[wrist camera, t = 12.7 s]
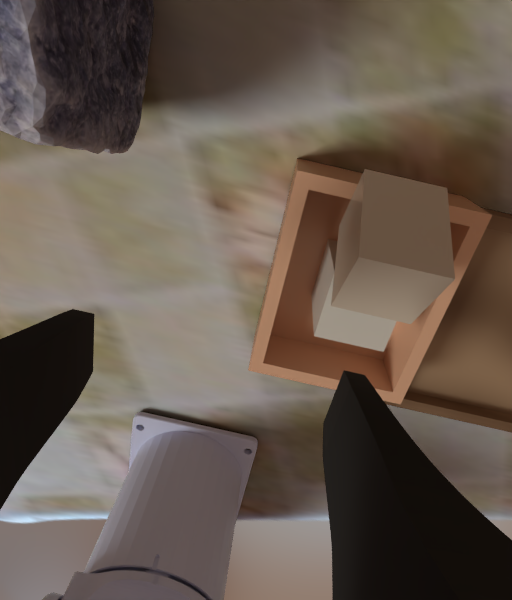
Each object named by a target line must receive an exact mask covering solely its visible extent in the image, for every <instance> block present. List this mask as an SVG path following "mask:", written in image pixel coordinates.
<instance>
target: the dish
mask: <svg viewBox="0 0 512 600" xmlns="http://www.w3.org/2000/svg"><path fill="white" fill-rule="evenodd" d="M362 174H363V173H360V172H355V171H351V170H347V169H342V168H338V167H334V166H329V165H325V164H321V163H316V162H312V161H308V160H303V159H299V158H297V162H296V166H295V170H294V174H293V179H292V183H291V187H290V191H289V195H288V199H287V203H286V208H285V212H284V216H283V220H282V224H281V228H280V232H279V237H278V241H277V245H276V249H275V253H274V257H273V262H272V266H271V270H270V274H269V278H268V282H267V286H266V291H265V295H264V299H263V303H262V307H261V311H260V315H259V320H258V324H257V328H256V332H255V336H254V342H253V347H252V353H251V358H250V364H249V369H248V370H249V371H254V372H258V373H263V374H267V375H271V376H276V377H280V378H285V379H289V380H294V381H298V382H303V383H307V384H311V385H316V386H320V387H325V388H329V389H334V390H336V389H337V386H338V384H339V381H340V379H341V376H342V373H343V371H344V370H345V371H350V372H354V373H359V374H363V375H365V376H366V377H367V378H368V380H369V381H370V383H371V384H372V385H373V387H374V388H375V390H376V391H377V393H378V394H379V395H380V397H381V398H382V400H383V401H387V402H392V403H396V404H400V405H401V403H402V401H403V398H404V396H405V394H406V392H407V390H408V388H409V386H410V384H411V382H412V380H413V378H414V376H415V374H416V372H417V370H418V368H419V366H420V363H421V361H422V359H423V357H424V355H425V353H426V351H427V349H428V347H429V345H430V343H431V341H432V339H433V337H434V335H435V333H436V330H437V328H438V326H439V324H440V322H441V320H442V318H443V316H444V314H445V312H446V310H447V308H448V306H449V304H450V302H451V300H452V298H453V295H454V293H455V291H456V289H457V287H458V285H459V283H460V281H461V279H462V277H463V275H464V273H465V271H466V269H467V267H468V265H469V263H470V260H471V258H472V256H473V254H474V252H475V250H476V248H477V246H478V244H479V242H480V240H481V238H482V236H483V234H484V232H485V230H486V228H487V225H488V223H489V221H490V219H491V217H492V215H491V214H490V213H488V212H487V211H485V210H484V209H482V208H480V207H479V206H477V205H476V204H474V203H473V202H471V201H469V200H468V199H466V198H465V197H463V196H460V195H455V194H451V193H448V203H449V215H450V227H451V238H452V250H453V261H454V273H455V280H454V281H453V282H452V283H451V284H450V285H449V286H448V287H447V288H446V289H445V290H444V291H443V292H442V293H441V294H440V295H439V296H438V297H437V298H436V299H435V300H434V301H433V302H432V303H431V304H430V305H429V306H428V307H427V308H426V309H425V310H424V311H423V312H422V313H421V314H420V315H419V316H418V317H417V318H416V319H415V320H414V321H413V322H412V323H411V324H407V323H403V322H399V321H397V322H396V324H395V326H394V329H393V331H392V333H391V336H390V338H389V340H388V343H387V345H386V348H385V350H384V352H382V351H377V350H373V349H369V348H364V347H360V346H355V345H351V344H346V343H342V342H337V341H333V340H328V339H324V338H320V337H315V336H314V329H313V312H312V296H311V294H312V291H313V287H314V284H315V281H316V277H317V274H318V271H319V267H320V264H321V261H322V257H323V254H324V251H325V247H326V244H327V241H328V239H330V240H335V241H338V234H339V225H340V223H341V220H342V218H343V216H344V214H345V212H346V209H347V207H348V205H349V203H350V200H351V198H352V196H353V194H354V192H355V189H356V187H357V185H358V183H359V181H360V178H361V176H362Z"/></svg>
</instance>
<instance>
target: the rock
mask: <svg viewBox="0 0 512 600" xmlns="http://www.w3.org/2000/svg"><path fill="white" fill-rule="evenodd" d="M153 18H154V7H153V0H0V130H1V131H3V132H6V133H8V134H10V135H13V136H15V137H18V138H20V139H23V140H26V141H28V142H31V143H34V144H40V145H49V146H62V147H66V148H71V149H81V150H88V151H90V152H93V153H97V154H99V153H100V152H102V151H106V152H108V153H111V154H113V153H124V152H126V151H128V149H129V148H130V146H131V145H132V143H133V141H134V138H135V135H136V133H137V130H138V128H139V125H140V119H141V111H142V101H143V96H144V93H145V81H146V77H147V73H148V54H149V51H150V42H151V37H152V31H153Z"/></svg>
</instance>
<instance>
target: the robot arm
mask: <svg viewBox="0 0 512 600" xmlns="http://www.w3.org/2000/svg"><path fill="white" fill-rule="evenodd" d="M93 345H94V314H92V313H88V312H83V311H79V310H74V309H72V310H69V311H67V312H64V313H61V314H59V315H57V316H54V317H52V318H49V319H47V320H45V321H42V322H40V323H38V324H36V325H33V326H31V327H28V328H26V329H24V330H21V331H19V332H17V333H14V334H12V335H10V336H7V337H5V338H2V339H0V509H1V508H2V506H3V504H4V503H5V501H6V499H7V498H8V496H9V494H10V493H11V491H12V490H13V488H14V486H15V485H16V483H17V481H18V480H19V479H20V477H21V476H22V474H23V473H24V471H25V470H26V468H27V467H28V466H29V464H30V463H31V462H32V460H33V459H34V458H35V456H36V455H37V454H38V452H39V451H40V450H41V448H42V447H43V446H44V444H45V443H46V442H47V440H48V439H49V438H50V436H51V435H52V434H53V432H54V431H55V430H56V428H57V427H58V426H59V424H60V423H61V422H62V420H63V419H64V418H65V416H66V415H67V414H68V412H69V411H70V409H71V408H72V407H73V405H74V404H75V403H76V401H77V399H78V398H79V396H80V394H81V392H82V391H83V389H84V387H85V385H86V383H87V382H88V380H89V378H90V376H91V374H92V372H93ZM140 425H143V426H140ZM257 446H258V441H257V439H256V438H255V437H252V436H248V435H243V434H239V433H234V432H230V431H225V430H221V429H217V428H212V427H208V426H203V425H199V424H194V423H190V422H185V421H181V420H176V419H172V418H167V417H163V416H158V415H154V414H149V413H145V412H138V413H136V414H135V416H134V419H133V427H132V439H131V450H130V462H129V472H128V474H127V476H126V479H125V481H124V483H123V485H122V488H121V490H120V492H119V494H118V496H117V499H116V501H115V503H114V505H113V508H112V510H111V512H110V514H109V516H108V519H107V521H106V523H105V525H104V528H103V530H102V532H101V534H100V536H99V539H98V541H97V543H96V545H95V548H94V550H93V552H92V554H91V557H90V559H89V561H88V563H87V566H86V568H85V570H84V572H75V573H74V575H73V577H72V579H71V581H70V583H69V586H68V588H67V590H66V592H65V594H64V595H61V594H57V593H50V594H48V595H47V596H45V597H44V598H43V599H42V600H224V593H225V587H226V581H227V574H228V567H229V560H230V554H231V547H232V540H233V534H234V527H235V523H236V520H237V516H238V513H239V509H240V506H241V502H242V499H243V495H244V492H245V488H246V485H247V482H248V478H249V475H250V471H251V468H252V464H253V461H254V457H255V454H256V450H257ZM247 449H251V450H247ZM323 464H324V474H325V483H326V493H327V502H328V511H329V520H330V530H331V541H332V569H333V570H332V571H333V572H332V573H333V575H332V578H333V579H332V581H333V600H512V540H511V539H510V538H509V537H507V536H506V535H505V534H504V533H503V532H502V531H500V530H499V529H498V528H497V527H496V526H495V525H494V524H493V523H491V522H490V521H489V520H488V519H487V518H486V517H485V516H484V515H483V514H482V513H480V512H479V511H478V510H477V509H476V508H475V507H474V506H473V505H472V504H471V503H470V502H469V501H468V500H467V499H466V498H465V497H464V496H463V495H462V494H461V493H460V492H459V491H458V490H457V489H456V488H455V487H454V486H453V485H452V484H451V483H450V482H449V481H448V480H447V479H446V478H445V477H444V476H443V475H442V474H441V473H440V472H439V470H438V469H437V468H436V467H435V466H434V465H433V464H432V463H431V462H430V460H429V459H428V458H427V457H426V456H425V454H424V453H423V452H422V451H421V450H420V448H419V447H418V446H417V445H416V444H415V442H414V441H413V440H412V439H411V437H410V436H409V435H408V434H407V432H406V431H405V430H404V428H403V427H402V426H401V424H400V423H399V422H398V420H397V419H396V418H395V416H394V415H393V414H392V412H391V411H390V409H389V408H388V407H387V405H386V404H385V402H384V401H383V400H382V398H381V397H380V395H379V394H378V393H377V391H376V390H375V388H374V387H373V385H372V384H371V383H370V381H369V380H368V378H367V377H366V376H365V375H363V374H359V373H354V372H350V371H345V370H344V371H343V373H342V376H341V379H340V381H339V384H338V386H337V389H336V392H335V394H334V397H333V400H332V402H331V405H330V408H329V410H328V413H327V415H326V418H325V421H324V425H323Z"/></svg>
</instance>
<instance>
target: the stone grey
mask: <svg viewBox="0 0 512 600" xmlns="http://www.w3.org/2000/svg"><path fill="white" fill-rule="evenodd" d="M337 243H338V241H335V240H330V239H328V241H327V244H326V247H325V251H324V254H323V257H322V261H321V264H320V267H319V271H318V274H317V277H316V281H315V284H314V287H313V291H312V294H311V296H312V312H313V329H314V336H315V337H320V338H324V339H328V340H333V341H337V342H342V343H346V344H351V345H355V346H360V347H364V348H369V349H373V350H377V351H382V352H384V350H385V348H386V345H387V343H388V340H389V338H390V336H391V333H392V331H393V329H394V326H395V324H396V322H397V321H394V320H390V319H386V318H381V317H377V316H372V315H368V314H364V313H359V312H355V311H350V310H346V309H342V308H337V307H333V306H331V300H332V291H333V281H334V272H335V262H336V253H337Z"/></svg>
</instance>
